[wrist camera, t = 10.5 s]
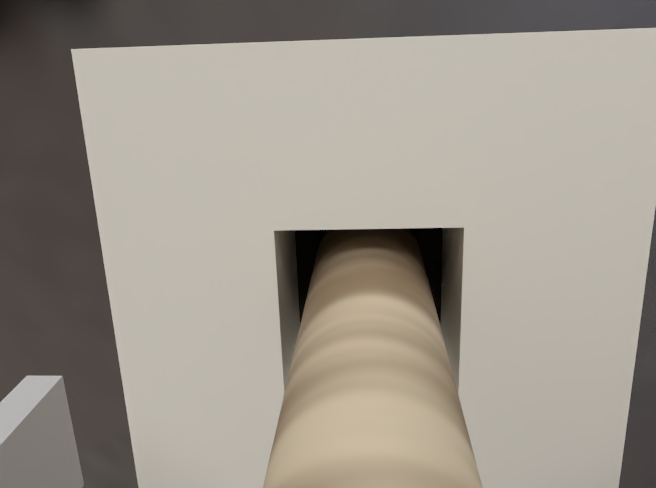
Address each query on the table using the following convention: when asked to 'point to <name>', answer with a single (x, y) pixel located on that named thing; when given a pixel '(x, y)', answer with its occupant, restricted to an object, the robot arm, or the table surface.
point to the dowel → (370, 376)
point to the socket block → (377, 213)
